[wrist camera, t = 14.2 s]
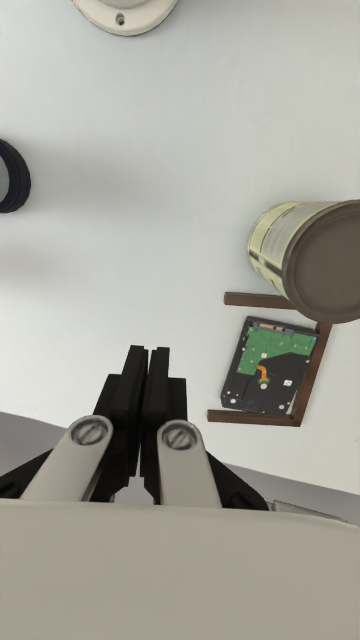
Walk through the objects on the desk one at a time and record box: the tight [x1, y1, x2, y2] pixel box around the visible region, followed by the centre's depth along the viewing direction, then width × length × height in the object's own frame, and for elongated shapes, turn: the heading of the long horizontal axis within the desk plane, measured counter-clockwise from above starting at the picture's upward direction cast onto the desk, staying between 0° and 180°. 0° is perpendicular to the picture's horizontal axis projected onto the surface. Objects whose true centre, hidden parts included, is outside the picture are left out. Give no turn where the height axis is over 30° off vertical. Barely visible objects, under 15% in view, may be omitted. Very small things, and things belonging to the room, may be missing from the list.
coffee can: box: [247, 200, 360, 324], centre depth 30 cm, size 10×10×14 cm
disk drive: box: [220, 316, 320, 418], centre depth 42 cm, size 10×3×15 cm
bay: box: [207, 292, 332, 427], centre depth 42 cm, size 22×16×1 cm
